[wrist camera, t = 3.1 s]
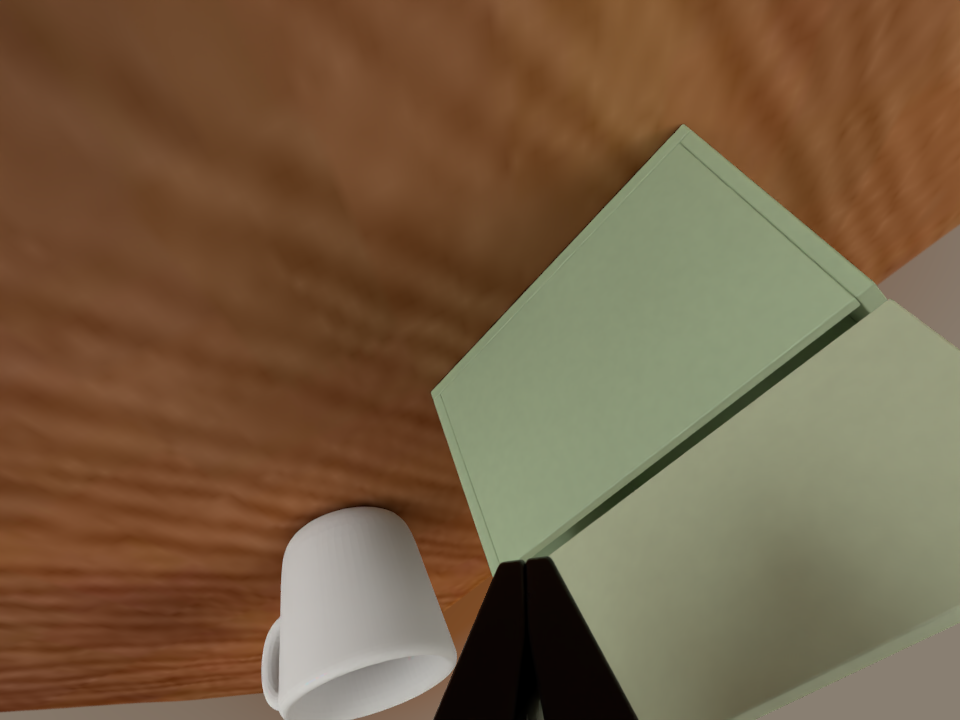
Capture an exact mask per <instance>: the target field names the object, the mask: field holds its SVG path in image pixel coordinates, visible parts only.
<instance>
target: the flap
mask: <svg viewBox="0 0 960 720" xmlns="http://www.w3.org/2000/svg"><path fill="white" fill-rule="evenodd" d="M549 557H551V558H552V560H553V561H554V563H555V565H556V567H557V569H558V571H559V572H560V574H561V576H562V578H563V580H564V582H565V584H566V585H567V587H568V589H569V591H570V593H571V595H572V597H573V598H574V600H575V602H576V604H577V606H578V608H579V610H580V611H581V613H582V615H583V617H584V619H585V621H586V623H587V624H588V626H589V628H590V630H591V632H592V634H593V636H594V637H595V639H596V641H597V643H598V645H599V647H600V649H601V650H602V652H603V654H604V656H605V658H606V660H607V662H608V663H609V665H610V667H611V669H612V671H613V673H614V675H615V676H616V678H617V680H618V682H619V684H620V686H621V688H622V689H623V691H624V693H625V695H626V697H627V699H628V701H629V702H630V704H631V706H632V708H633V710H634V712H635V714H636V715H637V717H638V719H639V720H756V719H758V718H760V717H762V716H764V715H766V714H768V713H770V712H772V711H775V710H777V709H779V708H781V707H783V706H785V705H787V704H789V703H791V702H794V701H795V700H798V699H800V698H802V697H804V696H806V695H808V694H810V693H813V692H815V691H817V690H819V689H821V688H823V687H825V686H827V685H829V684H831V683H833V682H836V681H838V680H840V679H842V678H844V677H846V676H848V675H850V674H852V673H855V672H857V671H859V670H861V669H863V668H865V667H867V666H869V665H872V664H874V663H876V662H878V661H880V660H882V659H884V658H886V657H888V656H891V655H893V654H895V653H897V652H899V651H901V650H903V649H905V648H907V647H909V646H912V645H914V644H916V643H918V642H920V641H922V640H924V639H926V638H928V637H931V636H933V635H935V634H937V633H939V632H941V631H943V630H945V629H948V628H950V627H951V626H954V625H956V624H958V623H960V349H958V348H957V347H956V346H954V345H953V344H951V343H950V342H949V341H948V340H946V339H945V338H943V337H942V336H941V335H939V334H938V333H937V332H935V331H934V330H933V329H931V328H930V327H929V326H927V325H926V324H925V323H923V322H922V321H921V320H919V319H918V318H917V317H915V316H914V315H913V314H911V313H910V312H909V311H907V310H906V309H904V308H903V307H902V306H901V305H899V304H898V303H896V302H895V301H894V300H892V299H889V300H887V301H886V302H884V303H883V304H882V305H881V306H879V307H878V308H877V309H875V310H874V311H873V312H871V313H870V314H869V315H867V316H866V317H865V318H863V319H862V320H861V321H859V322H858V323H857V324H855V325H854V326H853V327H851V328H850V329H849V330H847V331H846V332H845V333H843V334H842V335H841V336H839V337H838V338H837V339H835V340H834V341H833V342H831V343H830V344H829V345H827V346H826V347H825V348H823V349H822V350H821V351H820V352H818V353H817V354H816V355H814V356H813V357H812V358H810V359H809V360H808V361H806V362H805V363H804V364H802V365H801V366H800V367H798V368H797V369H796V370H794V371H793V372H792V373H790V374H789V375H788V376H786V377H785V378H784V379H782V380H781V381H780V382H778V383H777V384H776V385H774V386H773V387H772V388H770V389H769V390H768V391H766V392H765V393H764V394H763V395H761V396H760V397H759V398H757V399H756V400H755V401H753V402H752V403H751V404H749V405H748V406H747V407H745V408H744V409H743V410H741V411H740V412H739V413H737V414H736V415H735V416H733V417H732V418H731V419H729V420H728V421H727V422H725V423H724V424H723V425H721V426H720V427H719V428H717V429H716V430H715V431H713V432H712V433H711V434H709V435H708V436H707V437H706V438H704V439H703V440H702V441H700V442H699V443H698V444H696V445H695V446H694V447H692V448H691V449H690V450H688V451H687V452H686V453H684V454H683V455H682V456H680V457H679V458H678V459H676V460H675V461H674V462H672V463H671V464H670V465H668V466H667V467H666V468H664V469H663V470H662V471H660V472H659V473H658V474H656V475H655V476H654V477H652V478H651V479H650V480H649V481H647V482H646V483H645V484H643V485H642V486H641V487H639V488H638V489H637V490H635V491H634V492H633V493H631V494H630V495H629V496H627V497H626V498H625V499H623V500H622V501H621V502H619V503H618V504H617V505H615V506H614V507H613V508H611V509H610V510H609V511H607V512H606V513H605V514H603V515H602V516H601V517H599V518H598V519H597V520H595V521H594V522H593V523H591V524H590V525H589V526H588V527H586V528H585V529H584V530H582V531H581V532H580V533H578V534H577V535H576V536H574V537H573V538H572V539H570V540H569V541H568V542H566V543H565V544H564V545H562V546H561V547H560V548H558V549H557V550H556V551H554V552H553V553H552V554H550V555H549Z"/></svg>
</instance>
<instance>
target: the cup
mask: <svg viewBox="0 0 960 720" xmlns="http://www.w3.org/2000/svg"><path fill="white" fill-rule="evenodd" d="M456 660H457V654H456V650H455V647H454V644H453V641H452V639H451V636H450V633H449V631H448V628H447V625H446V622H445V620H444V617H443V614H442V612H441V609H440V606H439V604H438V601H437V598H436V596H435V593H434V590H433V588H432V585H431V582H430V580H429V577H428V574H427V572H426V569H425V566H424V564H423V561H422V558H421V555H420V553H419V550H418V547H417V545H416V542H415V540H414V538H413V535H412V533H411V531H410V529H409V528H408V526H407V525H406V523H405V522H404V521H403V520H402V519H401V518H400V517H399V516H398V515H396V514H395V513H393V512H391V511H389V510H386V509H383V508H377V507H352V508H346V509H341V510H338V511H334V512H331V513H328V514H325V515H323V516H321V517H319V518H317V519H315V520H313V521H311V522H309V523H308V524H307V525H305V526H304V527H302V528H301V529H300V530H299V531H298V532H297V533H296V534H295V535H294V536H293V538H292V539H291V540H290V542H289V544H288V546H287V548H286V551H285V554H284V558H283V564H282V575H281V612H280V618H279V619H277V620H276V622H275V623H274V624H273V626H272V627H271V629H270V630H269V633H268V635H267V637H266V641H265V645H264V650H263V656H262V686H263V692H264V695H265V698H266V701H267V702H268V704H269V705H270V706H271V707H272V708H273V709H275V710H277V711H279V712H280V714H281V716H282V717H283V719H284V720H351V719H356V718H359V717H363V716H367V715H370V714H373V713H377V712H379V711H382V710H385V709H388V708H391V707H393V706H396V705H398V704H401V703H403V702H405V701H407V700H410V699H412V698H414V697H416V696H418V695H420V694H422V693H424V692H425V691H427V690H429V689H430V688H432V687H434V686H435V685H437V684H438V683H440V682H441V681H442V680H443V679H445V678H446V677H447V676H448V675H449V674H450V673H451V671H452V670H453V669H454V667H455V665H456Z"/></svg>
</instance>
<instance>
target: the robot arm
mask: <svg viewBox="0 0 960 720" xmlns="http://www.w3.org/2000/svg"><path fill="white" fill-rule="evenodd" d="M433 720H639V719H638V717H637V715H636V714H635V712H634V710H633V708H632V706H631V704H630V702H629V701H628V699H627V697H626V695H625V693H624V691H623V689H622V688H621V686H620V684H619V682H618V680H617V678H616V676H615V675H614V673H613V671H612V669H611V667H610V665H609V663H608V662H607V660H606V658H605V656H604V654H603V652H602V650H601V649H600V647H599V645H598V643H597V641H596V639H595V637H594V636H593V634H592V632H591V630H590V628H589V626H588V624H587V623H586V621H585V619H584V617H583V615H582V613H581V611H580V610H579V608H578V606H577V604H576V602H575V600H574V598H573V597H572V595H571V593H570V591H569V589H568V587H567V585H566V584H565V582H564V580H563V578H562V576H561V574H560V572H559V571H558V569H557V567H556V565H555V563H554V561H553V560H552V558H551V557H549V556H542V557H535V558H529V559H528V560H527V561H526V563H525V561H524V560H512V561H505V562H502V563H500V564H499V566H498V568H497V570H496V572H495V574H494V577H493V579H492V582H491V584H490V586H489V589H488V591H487V593H486V596H485V598H484V600H483V603H482V605H481V608H480V610H479V612H478V615H477V617H476V620H475V622H474V624H473V626H472V629H471V631H470V634H469V636H468V638H467V641H466V643H465V645H464V648H463V650H462V653H461V655H460V657H459V660H458V662H457V665H456V667H455V669H454V671H453V674H452V676H451V679H450V681H449V683H448V686H447V688H446V690H445V693H444V695H443V698H442V700H441V702H440V705H439V707H438V709H437V712H436V714H435V717H434V719H433Z"/></svg>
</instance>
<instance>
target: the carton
mask: <svg viewBox="0 0 960 720" xmlns="http://www.w3.org/2000/svg"><path fill="white" fill-rule="evenodd" d="M886 301H887V298H886V297H885V296H884V295H883V293H882V292H881V291H880V289H879V288H878V287H877V285H876V284H875V283H874V282H873V281H872V280H871V279H869V278H868V277H867V276H866V275H865V274H863V273H862V272H861V271H860V270H859V269H857V268H856V267H855V266H854V265H853V264H851V263H850V262H849V261H848V260H847V259H845V258H844V257H843V256H842V255H841V254H839V253H838V252H837V251H836V250H835V249H833V248H832V247H831V246H830V245H829V244H827V243H826V242H825V241H824V240H823V239H821V238H820V237H819V236H818V235H817V234H815V233H814V232H813V231H812V230H811V229H809V228H808V227H807V226H806V225H805V224H803V223H802V222H801V221H800V220H799V219H797V218H796V217H795V216H794V215H793V214H791V213H790V212H789V211H788V210H787V209H785V208H784V207H783V206H782V205H781V204H779V203H778V202H777V201H776V200H775V199H773V198H772V197H771V196H770V195H769V194H767V193H766V192H765V191H764V190H763V189H761V188H760V187H759V186H758V185H757V184H755V183H754V182H753V181H752V180H751V179H749V178H748V177H747V176H746V175H745V174H743V173H742V172H741V171H740V170H739V169H737V168H736V167H735V166H734V165H733V164H731V163H730V162H729V161H728V160H727V159H725V158H724V157H723V156H722V155H721V154H719V153H718V152H717V151H716V150H715V149H713V148H712V147H711V146H710V145H709V144H707V143H706V142H705V141H704V140H703V139H701V138H700V137H699V136H698V135H697V134H695V133H694V132H693V131H692V130H691V129H689V128H688V127H687V126H686V125H684V124H683V125H681V126H680V127H679V129H678V130H677V131H676V132H675V133H674V134H673V135H672V136H671V137H670V138H669V139H668V140H667V141H666V142H665V143H664V145H663V146H662V147H661V148H660V149H659V150H658V151H657V152H656V153H655V154H654V155H653V156H652V157H651V158H650V159H649V160H648V162H647V163H646V164H645V165H644V166H643V167H642V168H641V169H640V170H639V171H638V172H637V173H636V174H635V175H634V176H633V178H632V179H631V180H630V181H629V182H628V183H627V184H626V185H625V186H624V187H623V188H622V189H621V190H620V191H619V192H618V193H617V195H616V196H615V197H614V198H613V199H612V200H611V201H610V202H609V203H608V204H607V205H606V206H605V207H604V208H603V209H602V210H601V212H600V213H599V214H598V215H597V216H596V217H595V218H594V219H593V220H592V221H591V222H590V223H589V224H588V225H587V226H586V228H585V229H584V230H583V231H582V232H581V233H580V234H579V235H578V236H577V237H576V238H575V239H574V240H573V241H572V242H571V243H570V245H569V246H568V247H567V248H566V249H565V250H564V251H563V252H562V253H561V254H560V255H559V256H558V257H557V258H556V259H555V261H554V262H553V263H552V264H551V265H550V266H549V267H548V268H547V269H546V270H545V271H544V272H543V273H542V274H541V275H540V276H539V278H538V279H537V280H536V281H535V282H534V283H533V284H532V285H531V286H530V287H529V288H528V289H527V290H526V291H525V292H524V293H523V295H522V296H521V297H520V298H519V299H518V300H517V301H516V302H515V303H514V304H513V305H512V306H511V307H510V308H509V309H508V311H507V312H506V313H505V314H504V315H503V316H502V317H501V318H500V319H499V320H498V321H497V322H496V323H495V324H494V325H493V326H492V328H491V329H490V330H489V331H488V332H487V333H486V334H485V335H484V336H483V337H482V338H481V339H480V340H479V341H478V342H477V344H476V345H475V346H474V347H473V348H472V349H471V350H470V351H469V352H468V353H467V354H466V355H465V356H464V357H463V358H462V359H461V361H460V362H459V363H458V364H457V365H456V366H455V367H454V368H453V369H452V370H451V371H450V372H449V373H448V374H447V375H446V376H445V378H444V379H443V380H442V381H441V382H440V383H439V384H438V385H437V386H436V387H435V388H434V389H433V390H432V391H431V395H432V398H433V400H434V404H435V406H436V409H437V412H438V415H439V418H440V421H441V424H442V427H443V430H444V433H445V436H446V439H447V442H448V445H449V448H450V451H451V454H452V457H453V460H454V463H455V466H456V469H457V472H458V475H459V478H460V481H461V484H462V487H463V490H464V493H465V496H466V499H467V502H468V505H469V508H470V511H471V514H472V517H473V520H474V523H475V526H476V529H477V532H478V535H479V538H480V541H481V543H482V546H483V549H484V552H485V555H486V558H487V561H488V564H489V567H490V570H491V573H492V576H493V577H494V574H495V572H496V570H497V568H498V566H499V564H500V563H502V562H505V561H512V560H524V561H525V563H526V561H527V560H528V559H529V558H535V557H542V556H549V555H550V554H552V553H553V552H554V551H556V550H557V549H558V548H560V547H561V546H562V545H564V544H565V543H566V542H568V541H569V540H570V539H572V538H573V537H574V536H576V535H577V534H578V533H580V532H581V531H582V530H584V529H585V528H586V527H588V526H589V525H590V524H591V523H593V522H594V521H595V520H597V519H598V518H599V517H601V516H602V515H603V514H605V513H606V512H607V511H609V510H610V509H611V508H613V507H614V506H615V505H617V504H618V503H619V502H621V501H622V500H623V499H625V498H626V497H627V496H629V495H630V494H631V493H633V492H634V491H635V490H637V489H638V488H639V487H641V486H642V485H643V484H645V483H646V482H647V481H649V480H650V479H651V478H652V477H654V476H655V475H656V474H658V473H659V472H660V471H662V470H663V469H664V468H666V467H667V466H668V465H670V464H671V463H672V462H674V461H675V460H676V459H678V458H679V457H680V456H682V455H683V454H684V453H686V452H687V451H688V450H690V449H691V448H692V447H694V446H695V445H696V444H698V443H699V442H700V441H702V440H703V439H704V438H706V437H707V436H708V435H709V434H711V433H712V432H713V431H715V430H716V429H717V428H719V427H720V426H721V425H723V424H724V423H725V422H727V421H728V420H729V419H731V418H732V417H733V416H735V415H736V414H737V413H739V412H740V411H741V410H743V409H744V408H745V407H747V406H748V405H749V404H751V403H752V402H753V401H755V400H756V399H757V398H759V397H760V396H761V395H763V394H764V393H765V392H766V391H768V390H769V389H770V388H772V387H773V386H774V385H776V384H777V383H778V382H780V381H781V380H782V379H784V378H785V377H786V376H788V375H789V374H790V373H792V372H793V371H794V370H796V369H797V368H798V367H800V366H801V365H802V364H804V363H805V362H806V361H808V360H809V359H810V358H812V357H813V356H814V355H816V354H817V353H818V352H820V351H821V350H822V349H823V348H825V347H826V346H827V345H829V344H830V343H831V342H833V341H834V340H835V339H837V338H838V337H839V336H841V335H842V334H843V333H845V332H846V331H847V330H849V329H850V328H851V327H853V326H854V325H855V324H857V323H858V322H859V321H861V320H862V319H863V318H865V317H866V316H867V315H869V314H870V313H871V312H873V311H874V310H875V309H877V308H878V307H879V306H881V305H882V304H883V303H884V302H886Z"/></svg>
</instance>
